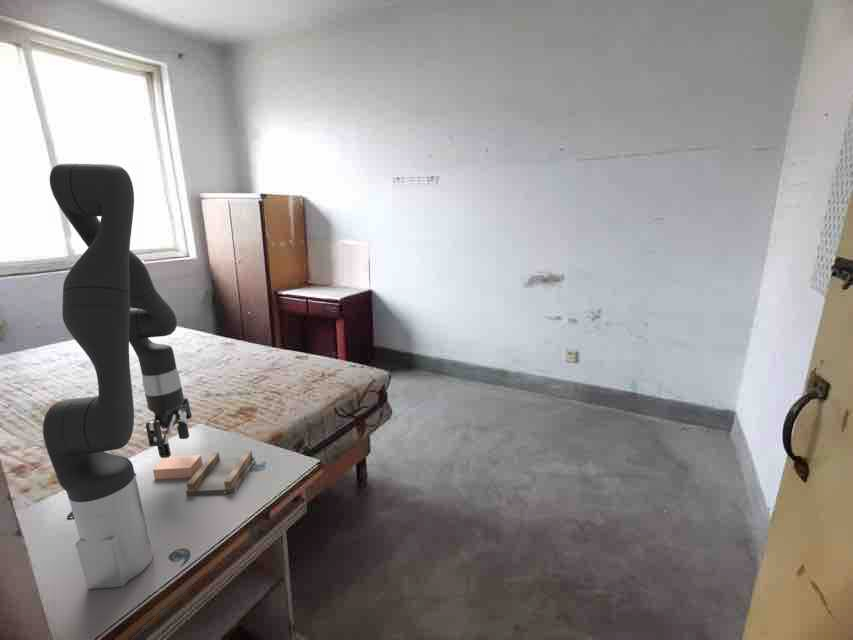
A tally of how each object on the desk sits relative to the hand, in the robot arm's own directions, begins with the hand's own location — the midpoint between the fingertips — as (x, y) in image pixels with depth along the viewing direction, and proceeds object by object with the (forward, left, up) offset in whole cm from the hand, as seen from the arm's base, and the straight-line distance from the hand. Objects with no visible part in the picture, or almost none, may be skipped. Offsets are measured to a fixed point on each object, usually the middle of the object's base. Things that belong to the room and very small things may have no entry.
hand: (175, 447), depth 103 cm
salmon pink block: (0, 0, -7) cm, 7 cm away
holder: (-4, -13, -7) cm, 15 cm away
